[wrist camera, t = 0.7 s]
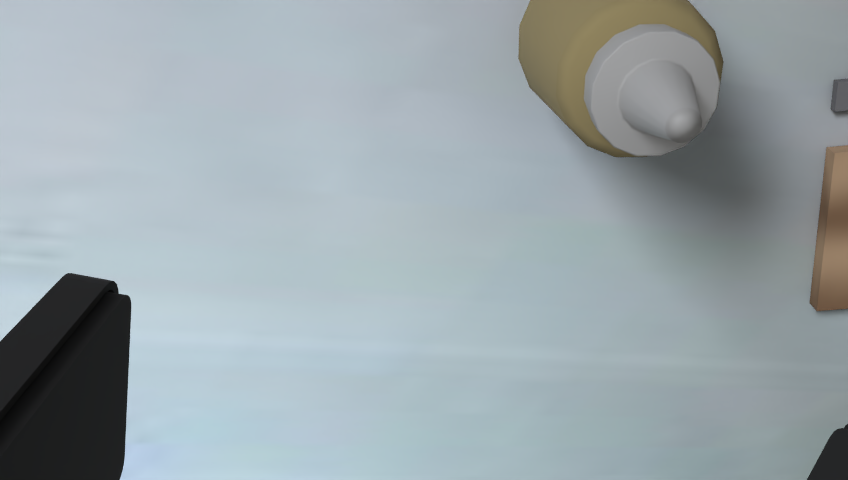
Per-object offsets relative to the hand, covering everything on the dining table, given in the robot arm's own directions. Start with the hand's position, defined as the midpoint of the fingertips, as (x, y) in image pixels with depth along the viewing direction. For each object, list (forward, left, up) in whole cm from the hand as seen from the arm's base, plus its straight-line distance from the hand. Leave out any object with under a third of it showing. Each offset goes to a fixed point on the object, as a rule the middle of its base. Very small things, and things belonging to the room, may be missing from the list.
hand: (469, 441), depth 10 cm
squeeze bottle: (+1, +7, -34) cm, 35 cm away
